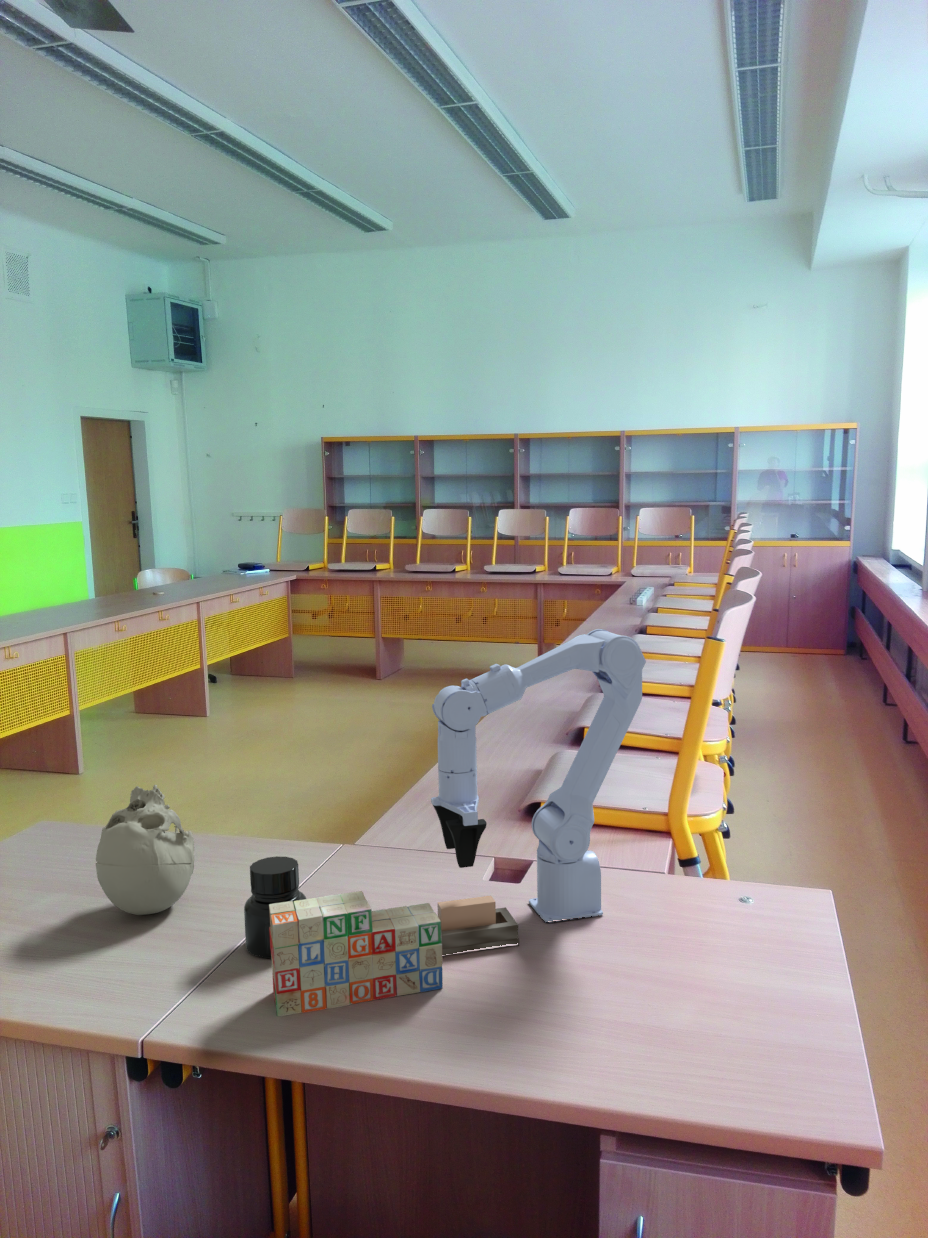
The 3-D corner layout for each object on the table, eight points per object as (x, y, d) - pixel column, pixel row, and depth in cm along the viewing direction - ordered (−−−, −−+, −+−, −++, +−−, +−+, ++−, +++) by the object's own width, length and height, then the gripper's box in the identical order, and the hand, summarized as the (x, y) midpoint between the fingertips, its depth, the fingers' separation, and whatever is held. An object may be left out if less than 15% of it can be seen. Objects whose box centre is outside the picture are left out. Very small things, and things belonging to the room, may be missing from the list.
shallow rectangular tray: (505, 926, 135) (505, 907, 135) (519, 945, 129) (518, 925, 129) (424, 937, 132) (423, 917, 132) (434, 958, 126) (433, 937, 125)
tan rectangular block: (491, 928, 132) (491, 895, 132) (496, 935, 130) (495, 901, 130) (438, 935, 130) (437, 902, 130) (441, 942, 128) (441, 908, 128)
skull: (205, 894, 149) (199, 775, 146) (167, 936, 134) (159, 805, 132) (131, 892, 150) (124, 774, 148) (85, 933, 135) (76, 803, 133)
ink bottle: (293, 964, 125) (290, 880, 123) (234, 959, 127) (230, 876, 125) (318, 932, 134) (315, 854, 133) (263, 928, 136) (259, 851, 135)
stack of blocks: (431, 967, 123) (429, 880, 122) (443, 990, 117) (441, 899, 116) (272, 993, 118) (267, 902, 116) (276, 1018, 112) (271, 923, 110)
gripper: (420, 758, 139) (422, 843, 141) (442, 784, 125) (444, 878, 127) (465, 754, 141) (466, 838, 143) (491, 779, 127) (492, 872, 129)
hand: (459, 857), depth 135 cm, fingers open, 7 cm apart
